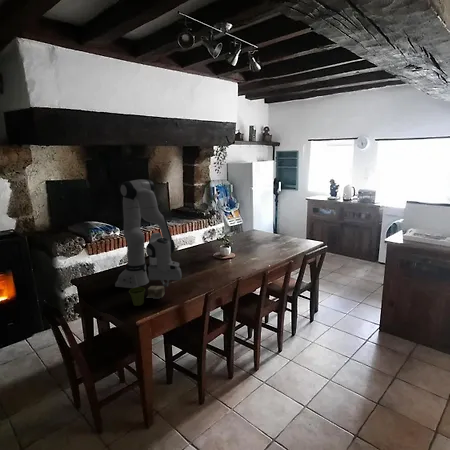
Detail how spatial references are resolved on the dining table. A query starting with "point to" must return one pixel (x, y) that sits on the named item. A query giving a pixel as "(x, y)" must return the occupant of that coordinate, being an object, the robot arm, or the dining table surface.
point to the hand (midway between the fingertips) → (165, 286)
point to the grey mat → (154, 297)
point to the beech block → (156, 291)
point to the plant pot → (137, 295)
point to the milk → (153, 238)
